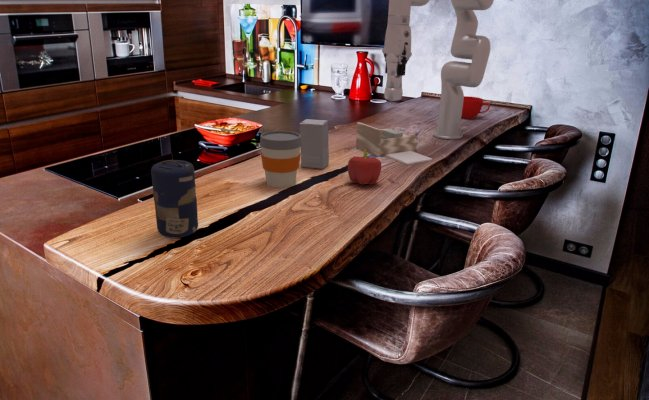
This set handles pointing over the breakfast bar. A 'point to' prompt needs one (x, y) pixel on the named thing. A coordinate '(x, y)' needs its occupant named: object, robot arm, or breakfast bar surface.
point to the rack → (382, 141)
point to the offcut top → (392, 133)
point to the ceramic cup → (472, 107)
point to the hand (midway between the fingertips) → (394, 73)
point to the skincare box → (314, 143)
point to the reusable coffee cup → (280, 157)
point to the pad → (408, 157)
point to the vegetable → (364, 169)
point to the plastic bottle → (393, 79)
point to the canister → (175, 198)
